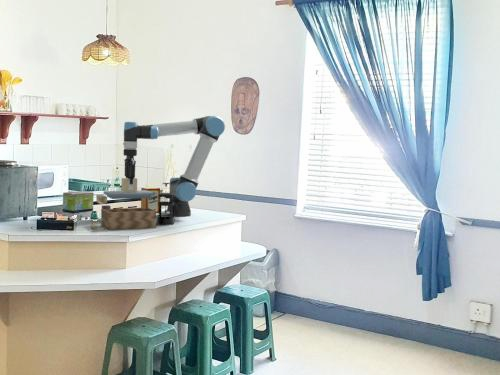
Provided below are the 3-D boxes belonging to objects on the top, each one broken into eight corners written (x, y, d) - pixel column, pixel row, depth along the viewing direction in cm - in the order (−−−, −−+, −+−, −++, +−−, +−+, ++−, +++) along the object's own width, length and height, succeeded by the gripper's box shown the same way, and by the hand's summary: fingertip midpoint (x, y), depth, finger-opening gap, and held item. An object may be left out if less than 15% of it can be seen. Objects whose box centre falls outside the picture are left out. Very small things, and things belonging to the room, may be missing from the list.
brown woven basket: (145, 222, 348) (145, 204, 347) (155, 227, 334) (156, 208, 332) (99, 224, 336) (99, 205, 335) (108, 230, 321) (108, 210, 320)
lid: (146, 195, 369) (147, 177, 368) (154, 198, 357) (155, 179, 356) (103, 196, 357) (103, 177, 355) (110, 199, 344) (110, 179, 343)
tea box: (74, 219, 349) (75, 193, 347) (61, 218, 354) (62, 192, 352) (93, 216, 362) (94, 191, 360) (81, 215, 367) (81, 190, 365)
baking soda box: (154, 211, 391) (154, 186, 389) (159, 213, 386) (160, 187, 384) (140, 212, 385) (141, 187, 383) (146, 214, 380) (146, 188, 378)
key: (102, 201, 347) (102, 194, 347) (107, 204, 339) (107, 196, 339) (96, 202, 346) (96, 195, 345) (100, 204, 338) (100, 197, 337)
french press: (164, 225, 341) (165, 184, 338) (152, 223, 346) (153, 182, 344) (179, 223, 350) (180, 183, 347) (167, 221, 355) (168, 181, 353)
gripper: (119, 147, 360) (118, 187, 362) (128, 149, 345) (127, 191, 347) (131, 148, 363) (131, 187, 366) (141, 149, 348) (140, 191, 351)
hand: (129, 189), depth 356 cm, fingers closed on lid, 4 cm apart
